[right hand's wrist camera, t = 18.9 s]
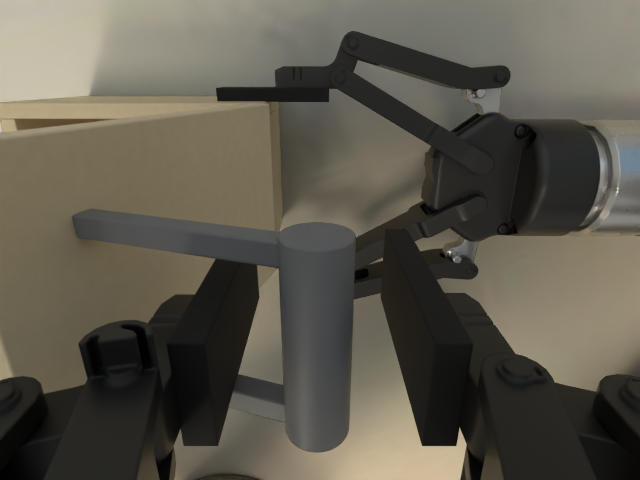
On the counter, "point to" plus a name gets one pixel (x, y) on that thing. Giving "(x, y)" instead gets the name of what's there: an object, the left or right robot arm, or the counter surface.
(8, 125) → the chest
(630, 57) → the counter surface
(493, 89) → the left robot arm
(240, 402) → the lid
